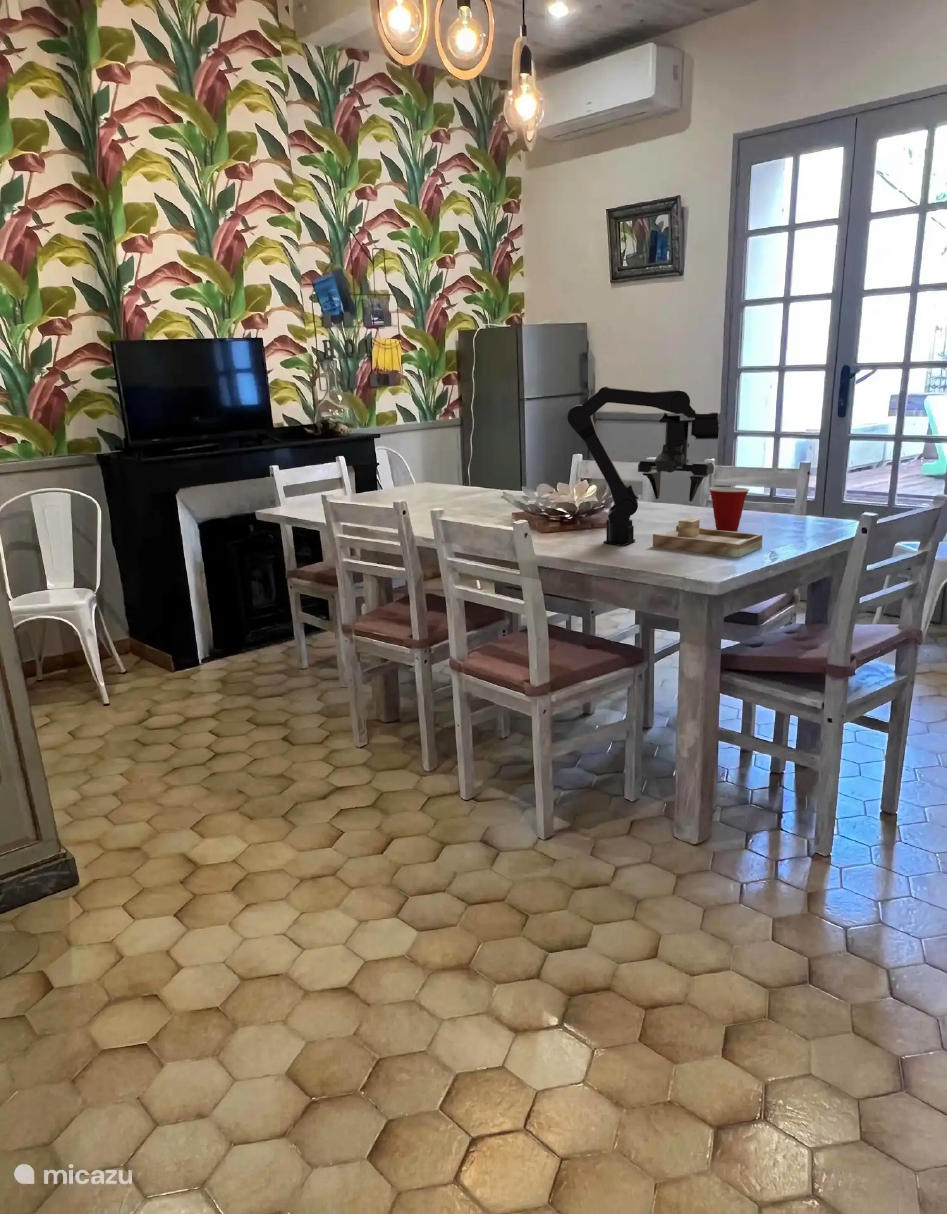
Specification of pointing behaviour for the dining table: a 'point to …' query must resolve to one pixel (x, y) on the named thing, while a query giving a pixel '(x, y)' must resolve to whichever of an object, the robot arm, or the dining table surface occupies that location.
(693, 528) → the block
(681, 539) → the wooden tray box
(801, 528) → the dining table surface
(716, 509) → the plastic cup
